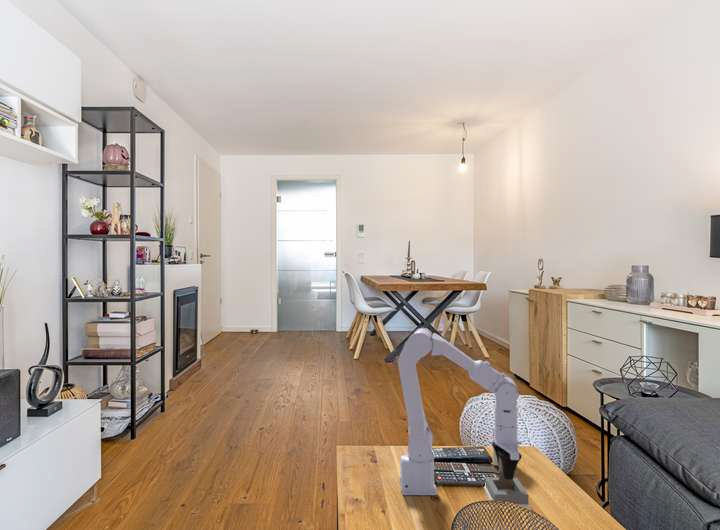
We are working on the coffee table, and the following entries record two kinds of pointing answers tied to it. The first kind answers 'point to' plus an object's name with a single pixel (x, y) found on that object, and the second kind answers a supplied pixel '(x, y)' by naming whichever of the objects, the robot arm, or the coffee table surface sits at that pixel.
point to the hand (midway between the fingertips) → (506, 474)
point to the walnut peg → (502, 480)
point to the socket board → (506, 492)
